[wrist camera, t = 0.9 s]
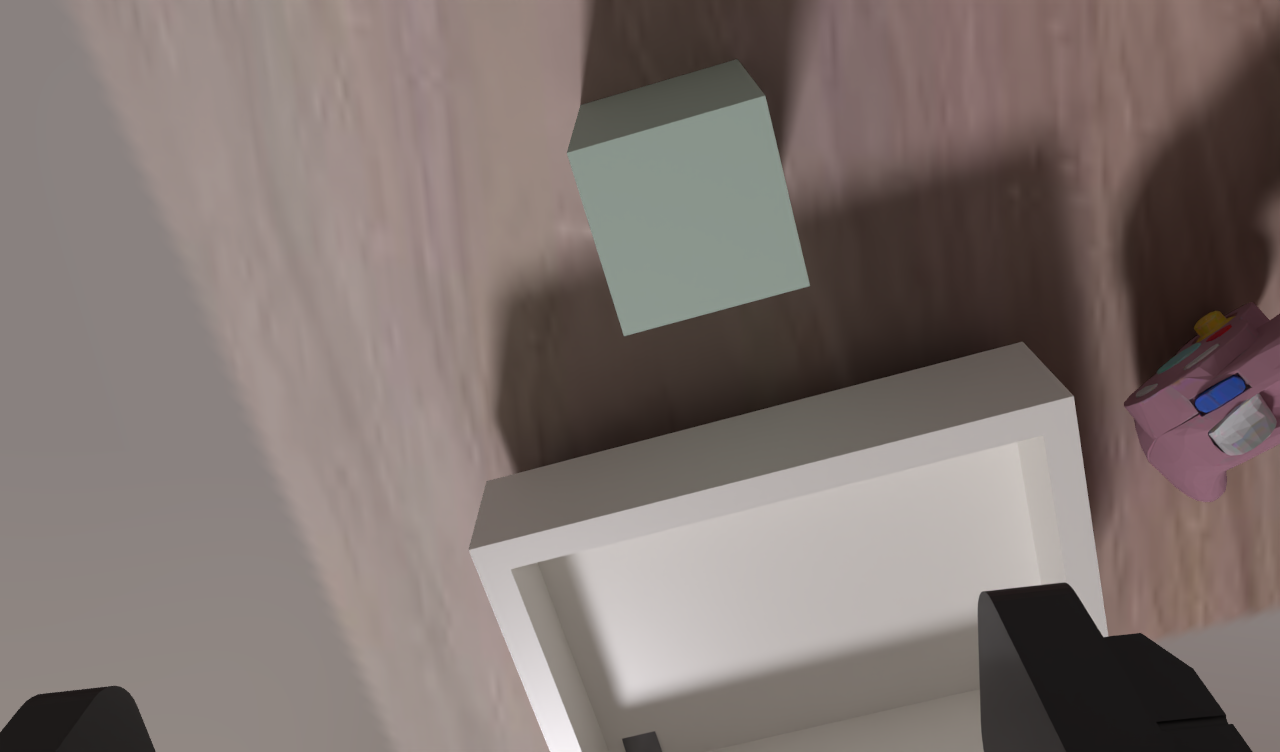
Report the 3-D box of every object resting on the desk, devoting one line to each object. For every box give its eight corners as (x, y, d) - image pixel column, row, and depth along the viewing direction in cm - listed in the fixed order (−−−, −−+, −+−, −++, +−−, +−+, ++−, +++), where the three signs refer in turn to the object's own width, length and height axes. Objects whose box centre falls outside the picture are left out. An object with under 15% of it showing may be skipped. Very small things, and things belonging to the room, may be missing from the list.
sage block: (737, 58, 26) (765, 96, 21) (774, 213, 28) (810, 285, 22) (580, 105, 27) (567, 152, 21) (625, 254, 28) (624, 336, 23)
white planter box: (1008, 326, 29) (1073, 396, 25) (1060, 642, 33) (1124, 748, 29) (491, 462, 30) (468, 549, 26) (600, 748, 34) (596, 864, 30)
